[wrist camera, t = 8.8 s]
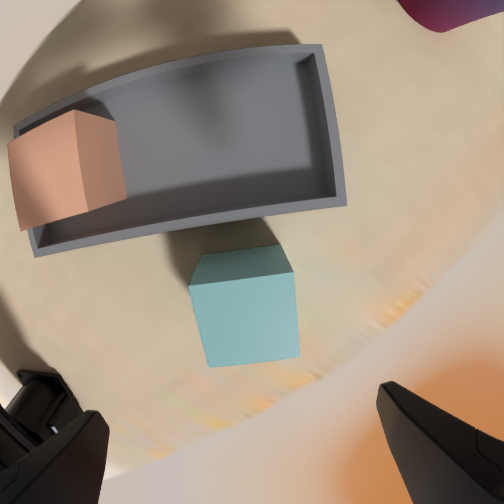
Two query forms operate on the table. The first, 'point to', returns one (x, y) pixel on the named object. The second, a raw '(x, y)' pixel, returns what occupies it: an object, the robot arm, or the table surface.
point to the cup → (450, 12)
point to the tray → (209, 144)
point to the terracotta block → (65, 168)
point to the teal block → (246, 306)
